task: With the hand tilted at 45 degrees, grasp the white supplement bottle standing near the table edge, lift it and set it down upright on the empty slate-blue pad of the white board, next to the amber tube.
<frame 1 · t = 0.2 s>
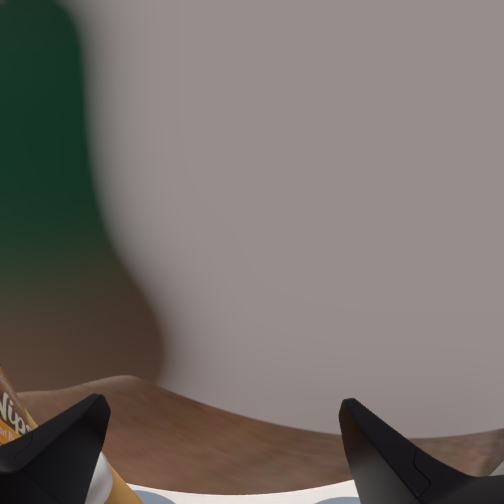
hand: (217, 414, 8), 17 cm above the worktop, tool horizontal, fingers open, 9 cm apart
candy box: (57, 488, 12), on the worktop
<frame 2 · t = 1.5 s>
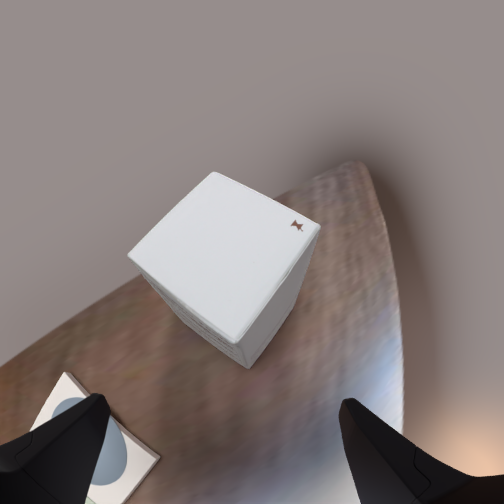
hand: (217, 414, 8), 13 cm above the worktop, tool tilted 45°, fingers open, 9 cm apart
white board: (64, 484, 14), on the worktop
supplement box: (238, 316, 24), on the worktop
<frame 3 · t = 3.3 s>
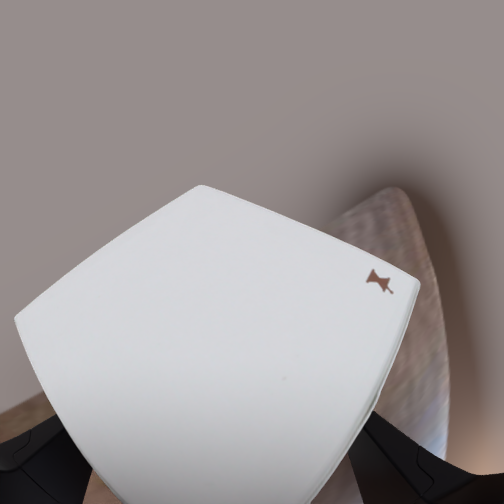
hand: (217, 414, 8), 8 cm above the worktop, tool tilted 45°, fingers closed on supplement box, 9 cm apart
supplement box: (237, 428, 14), point 1 cm above the worktop, touching gripper
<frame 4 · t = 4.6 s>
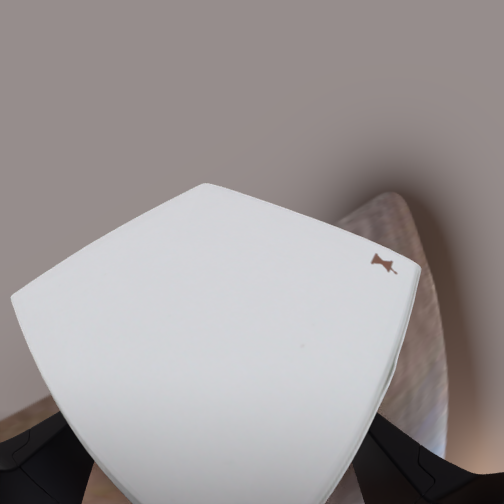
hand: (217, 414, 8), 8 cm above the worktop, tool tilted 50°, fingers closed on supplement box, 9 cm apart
supplement box: (232, 440, 13), point 1 cm above the worktop, touching gripper
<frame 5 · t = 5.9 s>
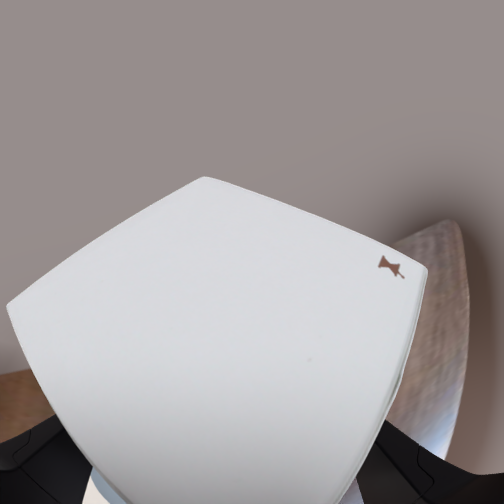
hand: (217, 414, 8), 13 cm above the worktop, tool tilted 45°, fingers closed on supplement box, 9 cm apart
white board: (91, 503, 13), on the worktop
supplement box: (233, 432, 13), point 7 cm above the worktop, touching gripper
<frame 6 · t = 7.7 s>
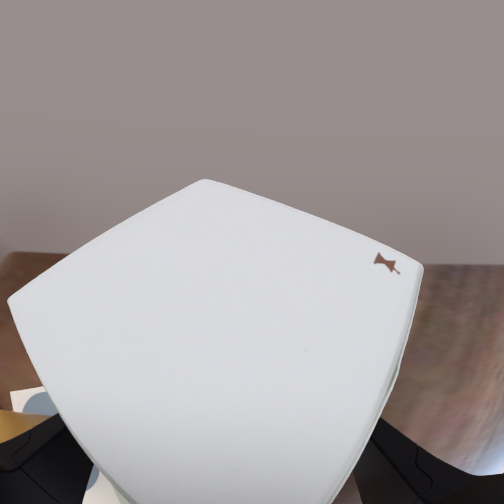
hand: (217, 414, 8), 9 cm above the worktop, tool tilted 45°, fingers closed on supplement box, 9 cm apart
amber tube: (54, 443, 12), point 1 cm above the worktop, touching white board
white board: (134, 448, 14), on the worktop
supplement box: (232, 436, 13), point 3 cm above the worktop, touching gripper, white board
when the fingers open (9 cm above the worktop, at t = 8.7 s): supplement box drops 1 cm, resting on white board.
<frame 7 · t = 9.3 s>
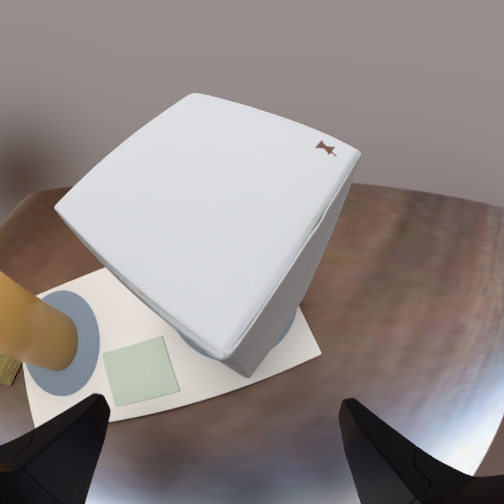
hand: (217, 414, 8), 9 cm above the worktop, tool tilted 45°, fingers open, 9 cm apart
amber tube: (55, 341, 17), point 1 cm above the worktop, touching white board
candy box: (2, 345, 17), on the worktop
white board: (135, 336, 18), on the worktop
supplement box: (233, 308, 18), point 1 cm above the worktop, touching white board
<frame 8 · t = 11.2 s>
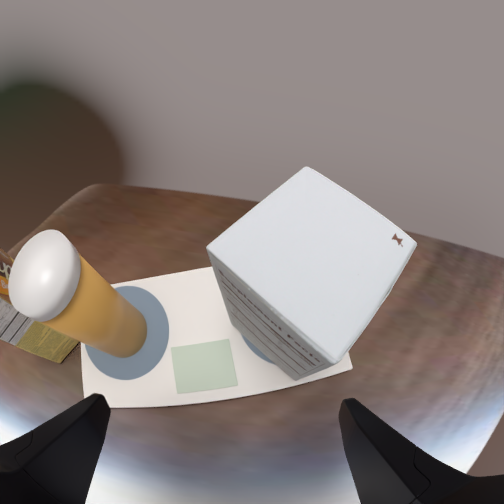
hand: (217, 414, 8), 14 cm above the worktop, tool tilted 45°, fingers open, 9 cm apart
amber tube: (122, 331, 22), point 1 cm above the worktop, touching white board
candy box: (54, 324, 23), on the worktop
white board: (200, 335, 23), on the worktop
supplement box: (290, 324, 22), point 1 cm above the worktop, touching white board
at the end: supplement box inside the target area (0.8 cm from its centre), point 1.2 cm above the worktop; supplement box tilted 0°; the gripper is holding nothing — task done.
